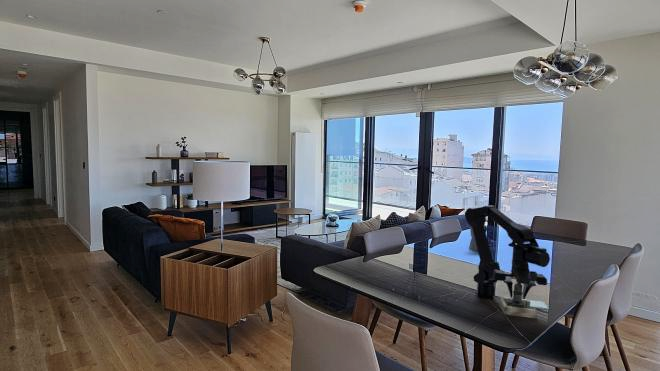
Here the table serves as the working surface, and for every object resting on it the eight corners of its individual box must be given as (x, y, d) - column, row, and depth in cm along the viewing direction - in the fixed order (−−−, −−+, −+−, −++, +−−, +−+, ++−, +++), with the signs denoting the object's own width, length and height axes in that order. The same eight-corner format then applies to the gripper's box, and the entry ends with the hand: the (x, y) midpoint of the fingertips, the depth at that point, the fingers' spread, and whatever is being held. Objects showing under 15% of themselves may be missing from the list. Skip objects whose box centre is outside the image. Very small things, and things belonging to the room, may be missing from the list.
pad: (529, 307, 152) (529, 306, 152) (525, 301, 159) (525, 299, 159) (548, 309, 150) (548, 308, 150) (543, 303, 157) (543, 301, 157)
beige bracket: (504, 314, 144) (504, 306, 144) (498, 303, 155) (498, 296, 155) (536, 318, 142) (537, 310, 141) (528, 306, 153) (528, 299, 152)
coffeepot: (475, 252, 240) (476, 224, 238) (463, 248, 248) (465, 221, 247) (491, 249, 247) (493, 223, 245) (479, 246, 255) (481, 220, 254)
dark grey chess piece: (519, 307, 152) (521, 278, 151) (527, 313, 146) (530, 283, 145) (505, 307, 151) (507, 278, 150) (513, 313, 145) (515, 283, 144)
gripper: (498, 263, 141) (495, 303, 143) (553, 268, 137) (550, 309, 138) (493, 255, 152) (490, 292, 153) (544, 260, 148) (540, 298, 149)
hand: (517, 298), depth 148 cm, fingers open, 4 cm apart
